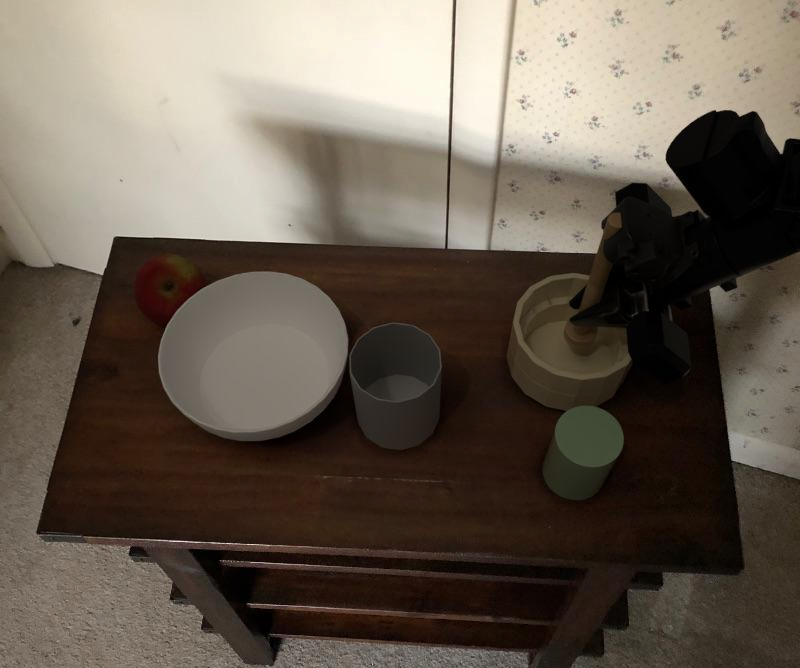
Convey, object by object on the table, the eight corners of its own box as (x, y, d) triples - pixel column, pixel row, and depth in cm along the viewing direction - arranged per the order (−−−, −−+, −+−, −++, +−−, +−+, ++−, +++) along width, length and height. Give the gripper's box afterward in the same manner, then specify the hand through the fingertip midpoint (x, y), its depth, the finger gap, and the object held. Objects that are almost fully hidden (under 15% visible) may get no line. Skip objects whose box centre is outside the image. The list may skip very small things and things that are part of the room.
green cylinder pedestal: (579, 433, 76) (595, 394, 69) (617, 480, 74) (638, 445, 66) (529, 461, 75) (541, 425, 68) (567, 511, 72) (582, 479, 65)
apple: (138, 341, 82) (112, 297, 75) (158, 281, 86) (135, 233, 79) (207, 347, 82) (187, 303, 75) (224, 286, 86) (206, 239, 79)
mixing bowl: (577, 296, 84) (589, 255, 78) (649, 378, 79) (668, 341, 73) (484, 345, 81) (489, 307, 75) (552, 433, 76) (564, 400, 70)
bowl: (341, 472, 75) (334, 440, 68) (159, 457, 76) (135, 424, 69) (364, 317, 83) (359, 276, 77) (200, 306, 84) (182, 265, 78)
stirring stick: (582, 317, 78) (621, 199, 63) (602, 339, 76) (646, 224, 61) (556, 331, 77) (589, 214, 62) (576, 354, 76) (614, 241, 61)
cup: (442, 447, 76) (444, 399, 67) (358, 452, 76) (350, 405, 67) (435, 374, 80) (437, 319, 71) (356, 378, 80) (348, 324, 71)
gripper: (668, 107, 63) (518, 197, 73) (693, 291, 54) (519, 363, 64) (731, 180, 69) (585, 253, 80) (763, 354, 61) (594, 411, 71)
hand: (571, 314), depth 74 cm, fingers closed on stirring stick
